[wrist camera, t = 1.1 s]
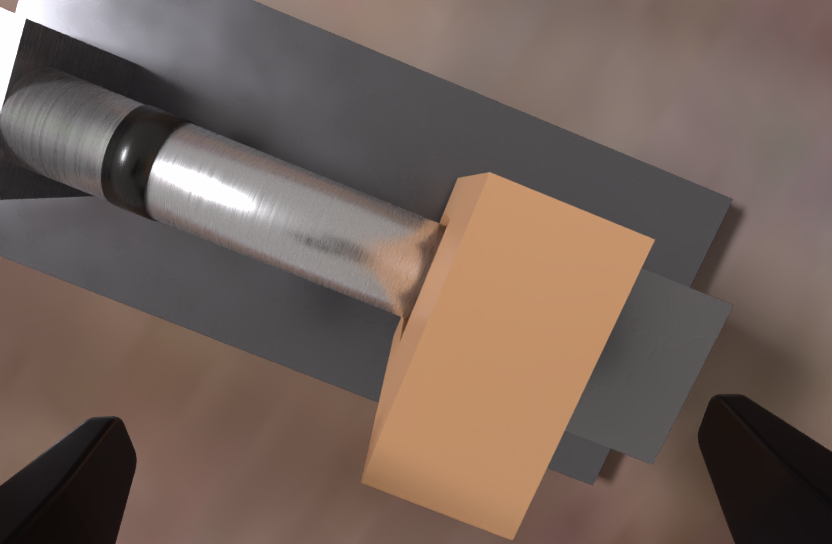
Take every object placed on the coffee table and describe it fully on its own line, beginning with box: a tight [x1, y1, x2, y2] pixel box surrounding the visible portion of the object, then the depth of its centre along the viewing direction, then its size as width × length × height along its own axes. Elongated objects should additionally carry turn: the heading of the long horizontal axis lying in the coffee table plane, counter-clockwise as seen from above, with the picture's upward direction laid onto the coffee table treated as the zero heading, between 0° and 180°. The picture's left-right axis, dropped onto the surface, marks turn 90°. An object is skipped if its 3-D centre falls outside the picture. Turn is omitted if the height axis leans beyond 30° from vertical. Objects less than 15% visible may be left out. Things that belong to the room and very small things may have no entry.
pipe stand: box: [0, 0, 733, 485], centre depth 18 cm, size 26×12×7 cm, turn 68°
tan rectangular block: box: [361, 172, 655, 541], centre depth 15 cm, size 3×6×10 cm, turn 158°
